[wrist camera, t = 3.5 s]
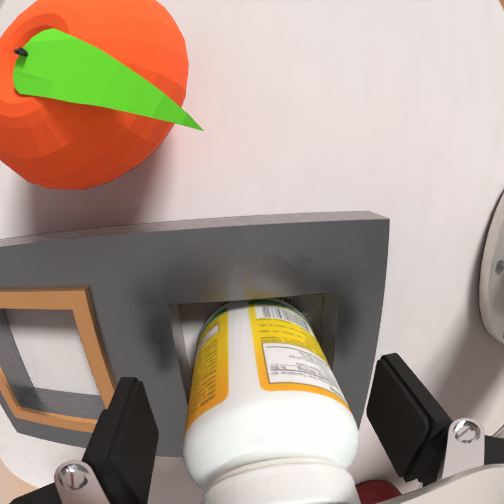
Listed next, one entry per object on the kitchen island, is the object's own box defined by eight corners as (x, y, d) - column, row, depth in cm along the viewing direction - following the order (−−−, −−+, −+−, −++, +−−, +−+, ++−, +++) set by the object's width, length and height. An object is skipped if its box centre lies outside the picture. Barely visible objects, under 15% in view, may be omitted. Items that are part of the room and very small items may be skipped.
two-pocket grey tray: (368, 210, 13) (393, 220, 11) (345, 415, 16) (358, 442, 14) (-34, 244, 12) (-59, 255, 9) (28, 414, 15) (15, 435, 13)
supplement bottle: (296, 276, 14) (399, 450, 4) (319, 368, 15) (388, 529, 6) (179, 311, 14) (130, 506, 4) (219, 397, 15) (222, 567, 6)
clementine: (252, 70, 11) (280, -24, 4) (175, 220, 12) (119, 282, 6) (95, 17, 10) (19, -60, 3) (28, 151, 11) (-86, 156, 4)
